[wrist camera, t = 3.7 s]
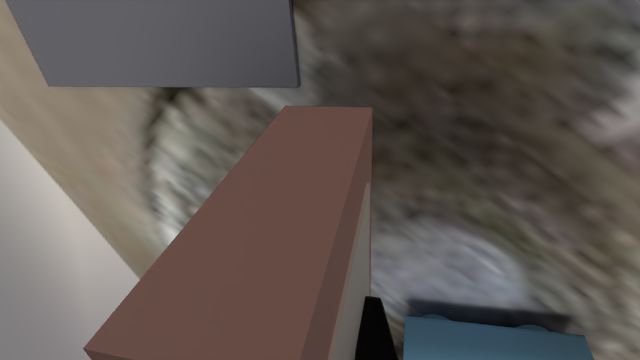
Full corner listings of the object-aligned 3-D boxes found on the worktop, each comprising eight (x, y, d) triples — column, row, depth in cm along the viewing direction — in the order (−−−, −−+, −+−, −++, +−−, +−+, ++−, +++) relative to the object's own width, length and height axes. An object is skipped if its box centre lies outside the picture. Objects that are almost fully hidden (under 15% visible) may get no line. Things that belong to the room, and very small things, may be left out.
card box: (371, 347, 12) (341, 602, 8) (315, 337, 13) (253, 571, 8) (375, 107, 8) (298, 395, 3) (285, 105, 8) (84, 348, 3)
